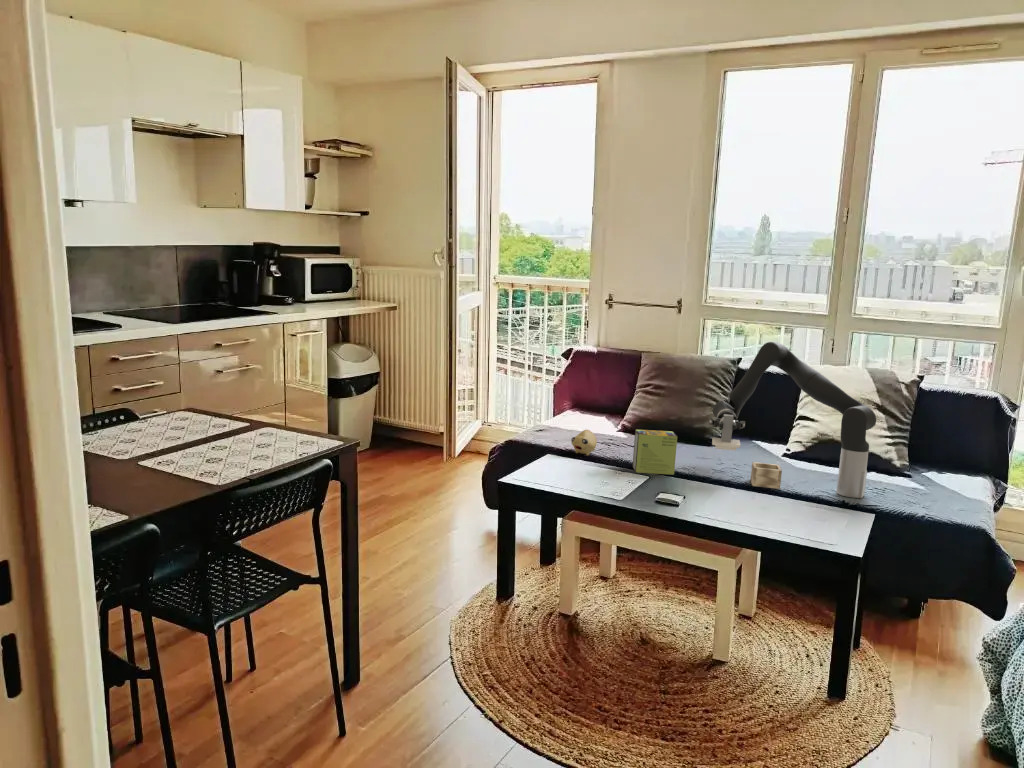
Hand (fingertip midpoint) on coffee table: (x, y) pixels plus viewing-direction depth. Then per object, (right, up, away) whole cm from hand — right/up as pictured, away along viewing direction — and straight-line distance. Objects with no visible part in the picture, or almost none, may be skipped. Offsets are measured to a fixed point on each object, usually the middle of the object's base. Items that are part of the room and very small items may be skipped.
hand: (727, 426), depth 288 cm
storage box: (+16, -22, +7) cm, 28 cm away
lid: (0, -8, +4) cm, 9 cm away
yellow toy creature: (-51, -14, +41) cm, 67 cm away
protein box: (-25, -19, +19) cm, 36 cm away
